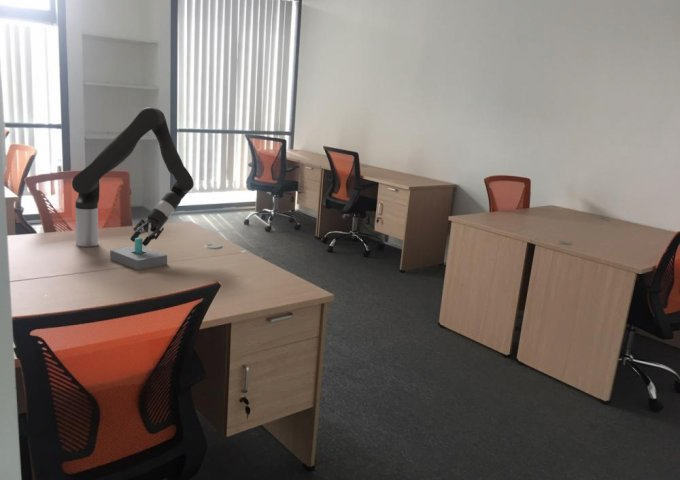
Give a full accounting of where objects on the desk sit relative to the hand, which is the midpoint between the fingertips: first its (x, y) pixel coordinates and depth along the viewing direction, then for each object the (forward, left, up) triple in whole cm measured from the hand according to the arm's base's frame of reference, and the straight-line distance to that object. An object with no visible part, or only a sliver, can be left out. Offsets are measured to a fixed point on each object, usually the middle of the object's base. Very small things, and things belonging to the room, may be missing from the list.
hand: (137, 242), depth 247 cm
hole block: (0, 0, -8) cm, 8 cm away
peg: (0, 0, -8) cm, 8 cm away
